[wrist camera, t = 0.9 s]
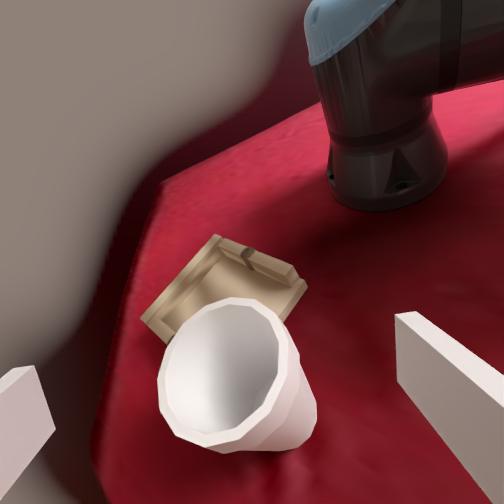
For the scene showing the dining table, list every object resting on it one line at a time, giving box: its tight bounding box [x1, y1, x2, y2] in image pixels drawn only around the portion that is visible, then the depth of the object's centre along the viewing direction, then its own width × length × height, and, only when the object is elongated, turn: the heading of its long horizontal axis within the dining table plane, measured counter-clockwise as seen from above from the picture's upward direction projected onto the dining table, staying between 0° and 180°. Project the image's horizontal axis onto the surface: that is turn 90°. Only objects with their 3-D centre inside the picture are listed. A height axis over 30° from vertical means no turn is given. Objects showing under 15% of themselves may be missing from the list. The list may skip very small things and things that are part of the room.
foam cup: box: [157, 297, 317, 454], centre depth 24 cm, size 10×9×13 cm
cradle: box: [140, 234, 308, 347], centre depth 37 cm, size 16×15×4 cm
